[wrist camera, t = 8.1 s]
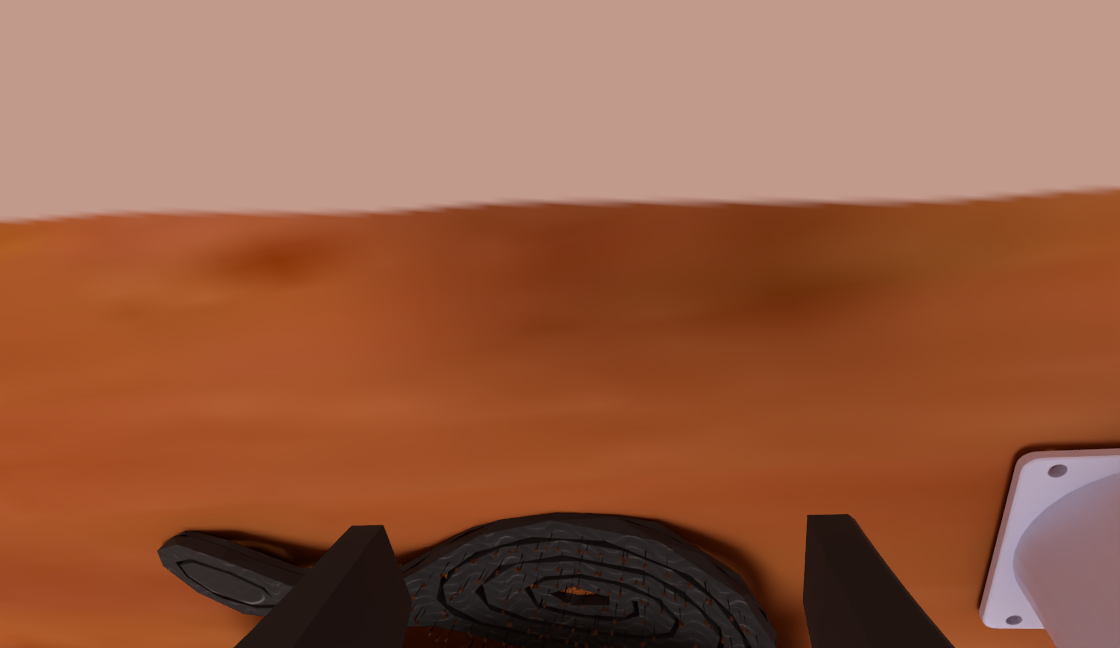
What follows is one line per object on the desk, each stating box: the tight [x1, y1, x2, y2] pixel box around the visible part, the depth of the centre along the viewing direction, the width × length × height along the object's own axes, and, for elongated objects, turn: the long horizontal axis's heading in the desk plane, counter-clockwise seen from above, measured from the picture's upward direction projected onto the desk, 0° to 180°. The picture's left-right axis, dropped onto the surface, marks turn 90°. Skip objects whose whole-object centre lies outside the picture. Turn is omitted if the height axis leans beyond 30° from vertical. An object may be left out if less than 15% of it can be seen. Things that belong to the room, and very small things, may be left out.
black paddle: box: [157, 513, 777, 648], centre depth 25 cm, size 8×4×25 cm
